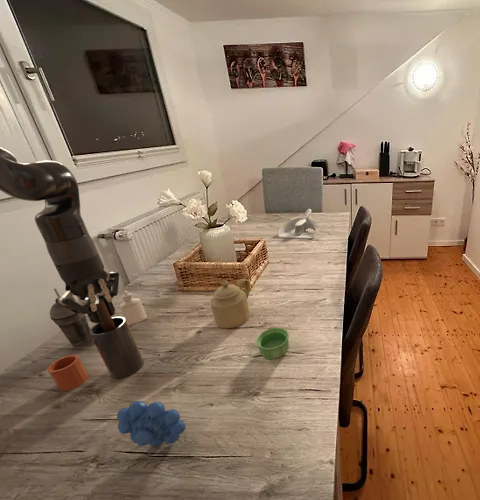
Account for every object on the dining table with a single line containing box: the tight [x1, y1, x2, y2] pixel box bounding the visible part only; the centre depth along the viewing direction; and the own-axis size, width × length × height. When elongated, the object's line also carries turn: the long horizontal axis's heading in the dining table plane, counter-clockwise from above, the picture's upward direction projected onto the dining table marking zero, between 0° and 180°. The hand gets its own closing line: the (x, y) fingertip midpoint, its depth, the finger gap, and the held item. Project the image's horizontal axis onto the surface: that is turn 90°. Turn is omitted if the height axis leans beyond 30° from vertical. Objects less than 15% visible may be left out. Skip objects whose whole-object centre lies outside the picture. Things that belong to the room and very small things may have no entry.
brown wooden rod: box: [95, 299, 116, 333], centre depth 71 cm, size 4×4×19 cm
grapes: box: [116, 400, 187, 447], centre depth 55 cm, size 12×7×12 cm, turn 97°
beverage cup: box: [49, 288, 93, 348], centre depth 82 cm, size 7×7×20 cm
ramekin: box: [256, 327, 290, 360], centre depth 81 cm, size 9×9×4 cm
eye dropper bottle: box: [119, 290, 148, 326], centre depth 93 cm, size 4×6×12 cm
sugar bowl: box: [209, 278, 251, 329], centre depth 95 cm, size 15×11×15 cm
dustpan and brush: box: [277, 208, 318, 240], centre depth 178 cm, size 23×33×10 cm
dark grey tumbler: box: [89, 316, 145, 380], centre depth 73 cm, size 7×7×15 cm
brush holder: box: [47, 354, 89, 392], centre depth 71 cm, size 6×6×7 cm
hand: (104, 318), depth 69 cm, fingers closed on brown wooden rod, 2 cm apart
